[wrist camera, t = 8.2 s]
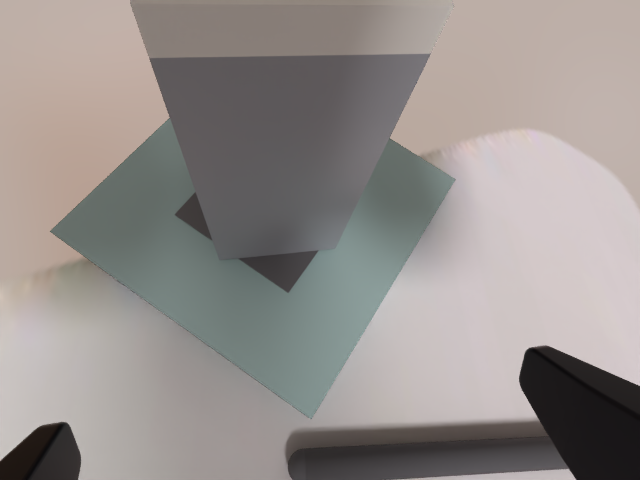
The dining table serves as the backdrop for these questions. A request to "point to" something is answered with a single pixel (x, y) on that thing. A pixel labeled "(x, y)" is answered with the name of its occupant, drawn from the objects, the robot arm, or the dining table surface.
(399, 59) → the light grey rectangular block
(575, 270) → the dining table surface
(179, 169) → the teal flat square slab
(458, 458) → the dark grey bar
